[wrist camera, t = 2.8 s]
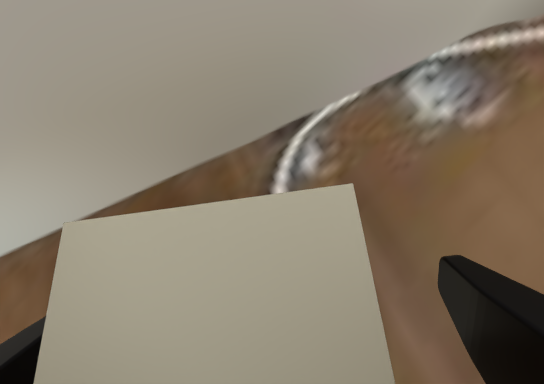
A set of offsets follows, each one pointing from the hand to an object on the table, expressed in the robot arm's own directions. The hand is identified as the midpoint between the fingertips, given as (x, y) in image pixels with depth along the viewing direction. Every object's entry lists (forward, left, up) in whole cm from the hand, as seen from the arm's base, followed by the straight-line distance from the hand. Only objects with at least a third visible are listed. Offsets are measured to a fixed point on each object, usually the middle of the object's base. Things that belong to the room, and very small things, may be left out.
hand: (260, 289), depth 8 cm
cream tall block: (-1, 0, -6) cm, 6 cm away
